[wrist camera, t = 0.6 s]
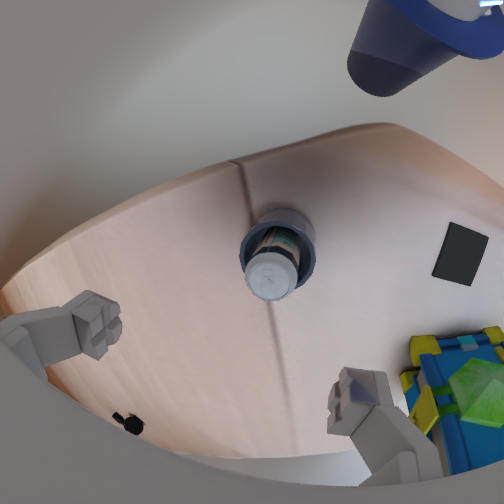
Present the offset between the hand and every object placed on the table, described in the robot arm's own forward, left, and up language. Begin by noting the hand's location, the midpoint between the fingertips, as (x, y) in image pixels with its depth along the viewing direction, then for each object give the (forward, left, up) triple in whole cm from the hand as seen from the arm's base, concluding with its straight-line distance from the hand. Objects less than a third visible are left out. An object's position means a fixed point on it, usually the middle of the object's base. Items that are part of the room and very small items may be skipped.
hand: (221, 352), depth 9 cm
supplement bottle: (+5, 0, -27) cm, 27 cm away
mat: (+1, +26, -27) cm, 38 cm away
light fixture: (+68, -33, -27) cm, 80 cm away
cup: (+5, 0, -27) cm, 27 cm away
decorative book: (+18, +35, -27) cm, 48 cm away
